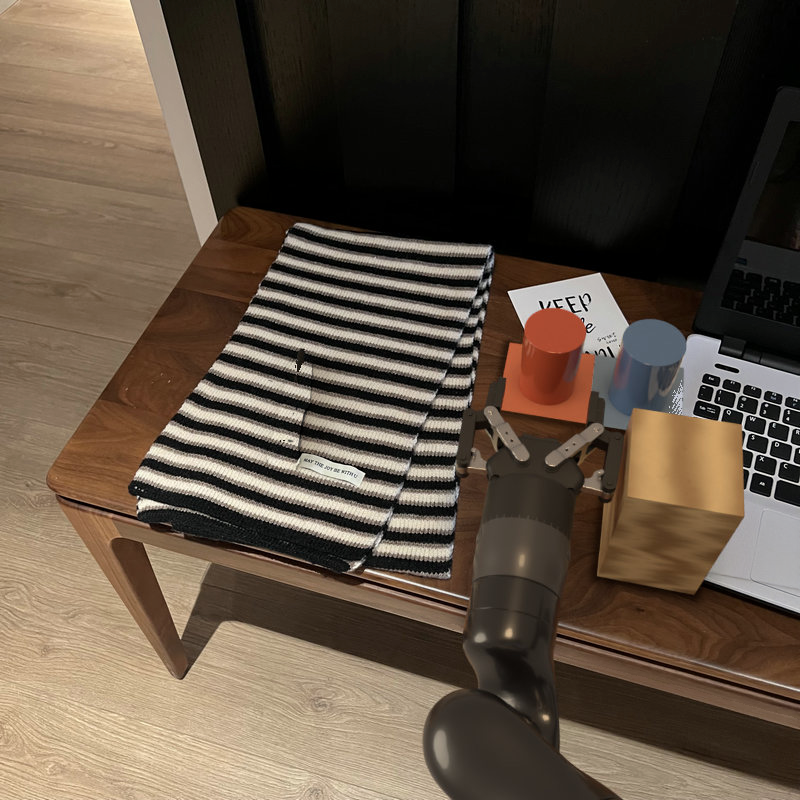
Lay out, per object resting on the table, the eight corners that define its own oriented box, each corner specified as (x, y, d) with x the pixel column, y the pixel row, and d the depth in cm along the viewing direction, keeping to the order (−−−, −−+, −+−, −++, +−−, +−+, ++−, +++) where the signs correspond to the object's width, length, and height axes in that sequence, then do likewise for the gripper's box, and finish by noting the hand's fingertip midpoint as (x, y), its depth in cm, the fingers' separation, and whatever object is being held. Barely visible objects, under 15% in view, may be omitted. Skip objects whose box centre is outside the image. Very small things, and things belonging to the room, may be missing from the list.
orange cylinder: (579, 367, 89) (590, 313, 82) (569, 410, 86) (581, 358, 79) (524, 356, 91) (531, 302, 84) (512, 398, 87) (518, 346, 80)
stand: (693, 515, 79) (742, 424, 66) (692, 597, 73) (744, 516, 61) (603, 499, 80) (633, 407, 67) (596, 578, 75) (627, 496, 62)
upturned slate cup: (667, 377, 88) (687, 323, 81) (665, 422, 84) (686, 370, 77) (609, 368, 89) (624, 315, 82) (605, 413, 85) (620, 360, 78)
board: (682, 373, 90) (684, 367, 89) (680, 443, 84) (682, 438, 83) (509, 347, 93) (509, 342, 92) (496, 414, 87) (496, 409, 86)
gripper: (438, 547, 68) (471, 400, 77) (604, 579, 65) (618, 424, 74) (437, 505, 62) (473, 352, 71) (620, 539, 59) (633, 375, 68)
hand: (547, 389), depth 73 cm, fingers open, 8 cm apart
